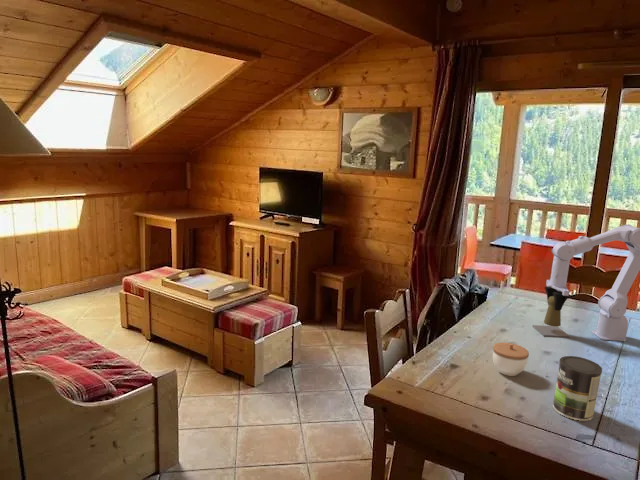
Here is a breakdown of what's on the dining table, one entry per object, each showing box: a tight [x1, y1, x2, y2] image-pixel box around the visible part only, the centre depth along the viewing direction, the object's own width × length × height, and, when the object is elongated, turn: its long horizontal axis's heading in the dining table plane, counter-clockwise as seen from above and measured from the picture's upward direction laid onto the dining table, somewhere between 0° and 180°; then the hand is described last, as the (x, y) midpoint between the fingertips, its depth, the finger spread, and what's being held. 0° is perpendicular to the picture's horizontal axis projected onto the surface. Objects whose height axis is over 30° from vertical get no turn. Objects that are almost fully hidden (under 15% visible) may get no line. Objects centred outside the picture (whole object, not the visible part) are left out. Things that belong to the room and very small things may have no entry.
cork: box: [543, 296, 562, 327], centre depth 187 cm, size 6×6×11 cm
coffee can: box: [552, 355, 603, 422], centre depth 131 cm, size 10×10×14 cm
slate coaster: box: [532, 324, 571, 339], centre depth 189 cm, size 10×10×1 cm
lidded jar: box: [492, 342, 530, 377], centre depth 153 cm, size 11×11×9 cm
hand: (554, 307), depth 187 cm, fingers closed on cork, 5 cm apart
